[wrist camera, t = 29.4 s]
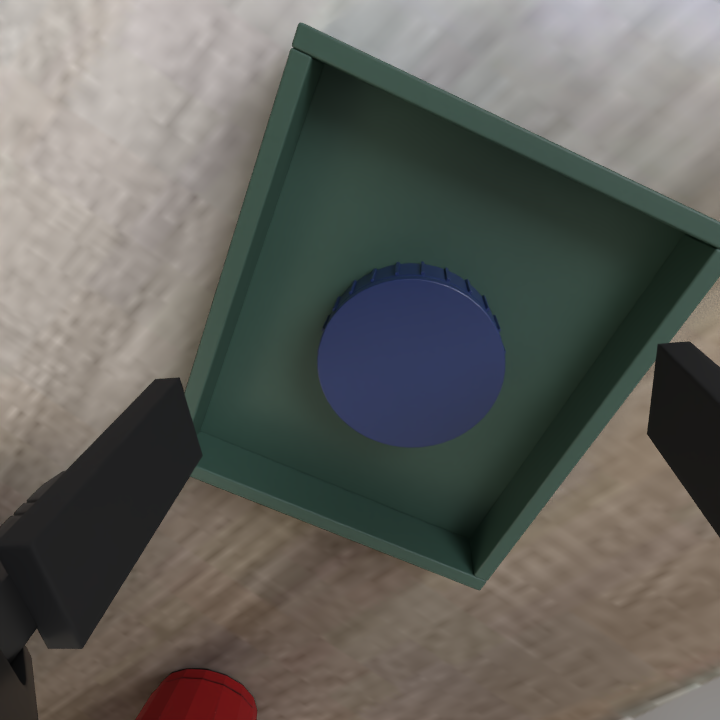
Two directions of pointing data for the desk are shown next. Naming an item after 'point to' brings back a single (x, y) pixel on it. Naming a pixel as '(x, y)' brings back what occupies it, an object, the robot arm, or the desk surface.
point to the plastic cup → (199, 698)
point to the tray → (442, 249)
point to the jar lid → (411, 356)
